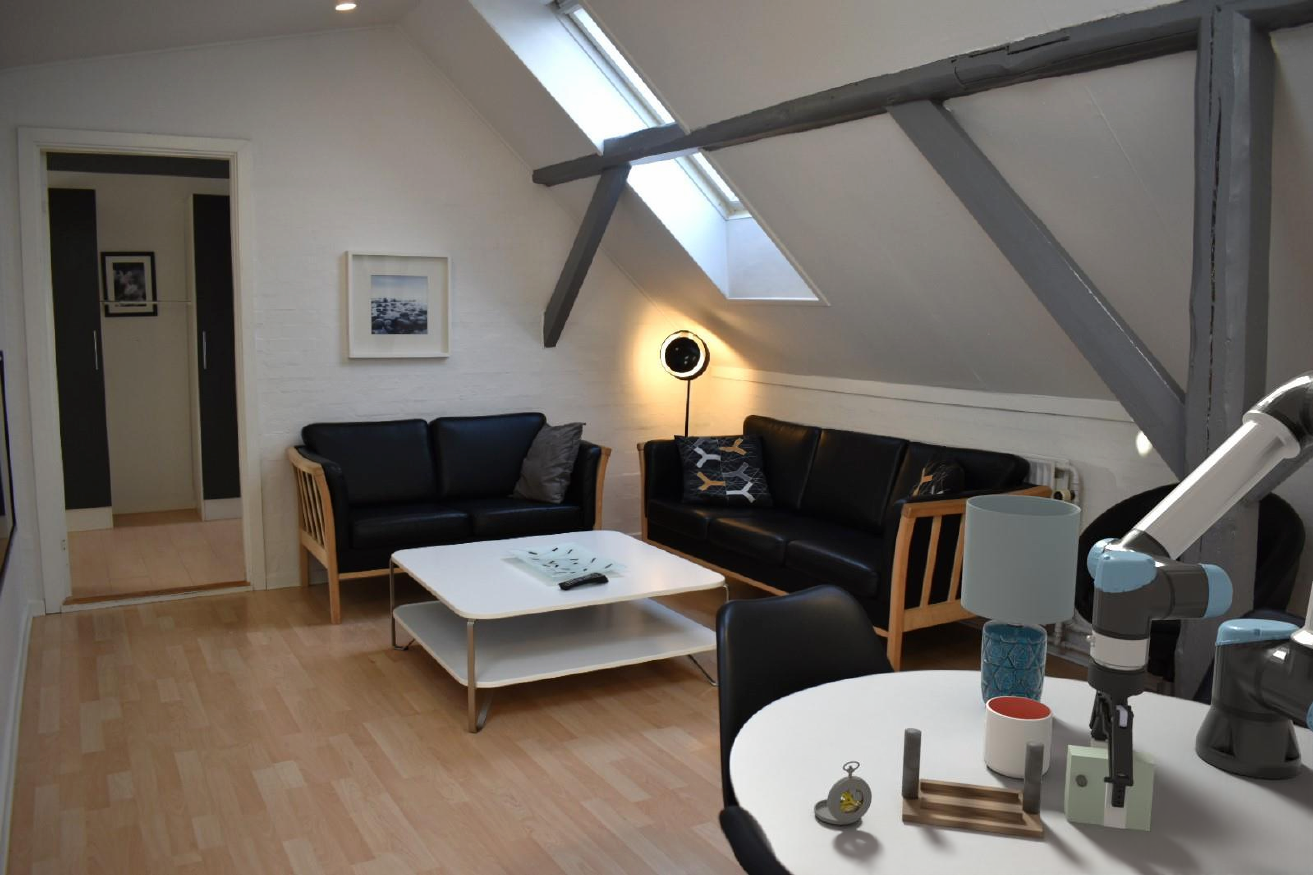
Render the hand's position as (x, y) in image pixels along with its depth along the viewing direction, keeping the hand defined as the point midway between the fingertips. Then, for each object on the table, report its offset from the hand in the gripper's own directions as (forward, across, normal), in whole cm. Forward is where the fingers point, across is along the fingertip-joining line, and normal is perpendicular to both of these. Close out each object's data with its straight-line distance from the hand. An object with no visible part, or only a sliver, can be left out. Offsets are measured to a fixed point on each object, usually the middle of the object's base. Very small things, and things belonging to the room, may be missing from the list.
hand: (1105, 803), depth 153 cm
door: (+2, 0, 0) cm, 3 cm away
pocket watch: (+3, +10, -37) cm, 38 cm away
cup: (+3, -15, -11) cm, 18 cm away
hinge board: (+3, +2, -19) cm, 19 cm away
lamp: (+2, -40, -10) cm, 42 cm away
